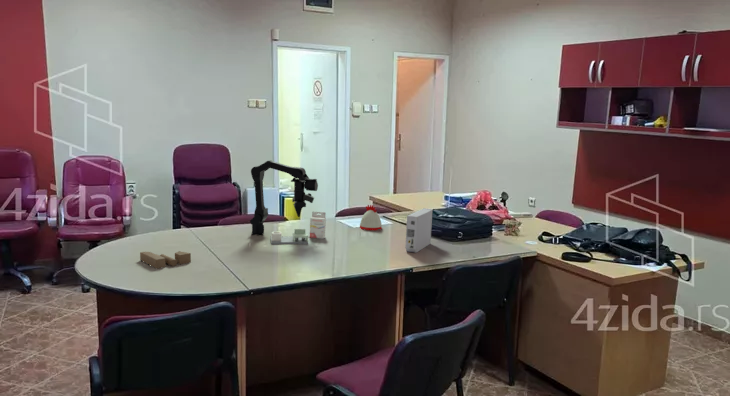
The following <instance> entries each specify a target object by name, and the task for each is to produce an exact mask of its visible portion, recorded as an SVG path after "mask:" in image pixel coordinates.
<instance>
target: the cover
mask: <svg viewBox="0 0 730 396" xmlns="http://www.w3.org/2000/svg"><path fill="white" fill-rule="evenodd" d="M292 236H293V242H295V238H305V239H306V241H307V242H308V243H309V234H308V233H307V232H306V229H305V228H295V229H294V233H292Z"/></svg>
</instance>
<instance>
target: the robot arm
mask: <svg viewBox="0 0 730 396" xmlns="http://www.w3.org/2000/svg"><path fill="white" fill-rule="evenodd" d="M269 169H273V170H275V171H278V172H282V173H286V174H288V175H290V176H291V177H293V178H292V179H291V180H290V182H291V183H293V185H294V186H293V187H294V188H293V190H294V191H293V197H292V200H291V201H292V205H293V207H294V210H295V212H296V216H297V217H298V218H300V217H301V214H302V213H301V212H302V210H303V208H306V207H307V203H306V202H309V203H310V204H313V203H314V199H315V197H314V196H312V194H311V193H307V194H306V191H312V192H317V191H318V187H319V183H318V179H317V178H309V175H308V174H307V172H306V169H305V168H304V167H302V166H301V167H299V166H289V165H286V164H283V163H280V162H277V161H274V160H267V161H265V162H264V163H262V164H259V165H256V166H253V167H252V168H251V169H250V174H251V178H252V181H253V182H254V195H255V209H254V214H253V217H252V218H251V220H249V221H250V225H251V235H264V233H265V225H264V222H265V220H266V219H267V218H268V216H269V208H268V207H265V200H264V185H263V184H264V183H263V182H264V177H265V172H266V171H268V170H269ZM305 190H306V191H305Z"/></svg>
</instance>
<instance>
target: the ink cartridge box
mask: <svg viewBox="0 0 730 396" xmlns="http://www.w3.org/2000/svg"><path fill="white" fill-rule="evenodd" d="M326 215H327V214H326V212H325V211H312V212H311V217H310V218H309V238H311V239H325V238H326V221H327V219H326V217H327V216H326Z"/></svg>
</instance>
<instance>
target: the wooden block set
mask: <svg viewBox="0 0 730 396" xmlns="http://www.w3.org/2000/svg"><path fill="white" fill-rule="evenodd" d="M191 254H192V253H191V252H185V251H180V250H178V251H176V252H175V253H174V258H173V257H171V256H169V255H167V254H164V253H161V254H157V253H153V252H151V251H141V252H140V253H139V255H140V256H139V259H140V261H141V260H142V261H141V262H143V261H144V262H143V263H145V262H146V263H145V264H149V265H151V266H153V267H155V268H158V269H162V268H161V267H163V268H166V264H167V265H169V266H171V267H175V266H177V264H178V265H183V264H189V262H190V263H191V262H192V257H191ZM149 265H148V266H149ZM151 266H150V267H151ZM153 267H152V268H153ZM155 268H154V269H155Z"/></svg>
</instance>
